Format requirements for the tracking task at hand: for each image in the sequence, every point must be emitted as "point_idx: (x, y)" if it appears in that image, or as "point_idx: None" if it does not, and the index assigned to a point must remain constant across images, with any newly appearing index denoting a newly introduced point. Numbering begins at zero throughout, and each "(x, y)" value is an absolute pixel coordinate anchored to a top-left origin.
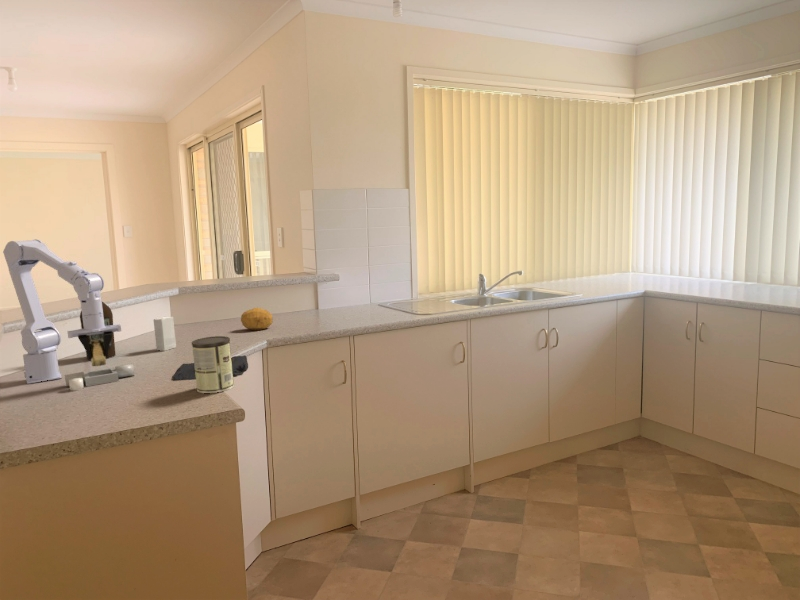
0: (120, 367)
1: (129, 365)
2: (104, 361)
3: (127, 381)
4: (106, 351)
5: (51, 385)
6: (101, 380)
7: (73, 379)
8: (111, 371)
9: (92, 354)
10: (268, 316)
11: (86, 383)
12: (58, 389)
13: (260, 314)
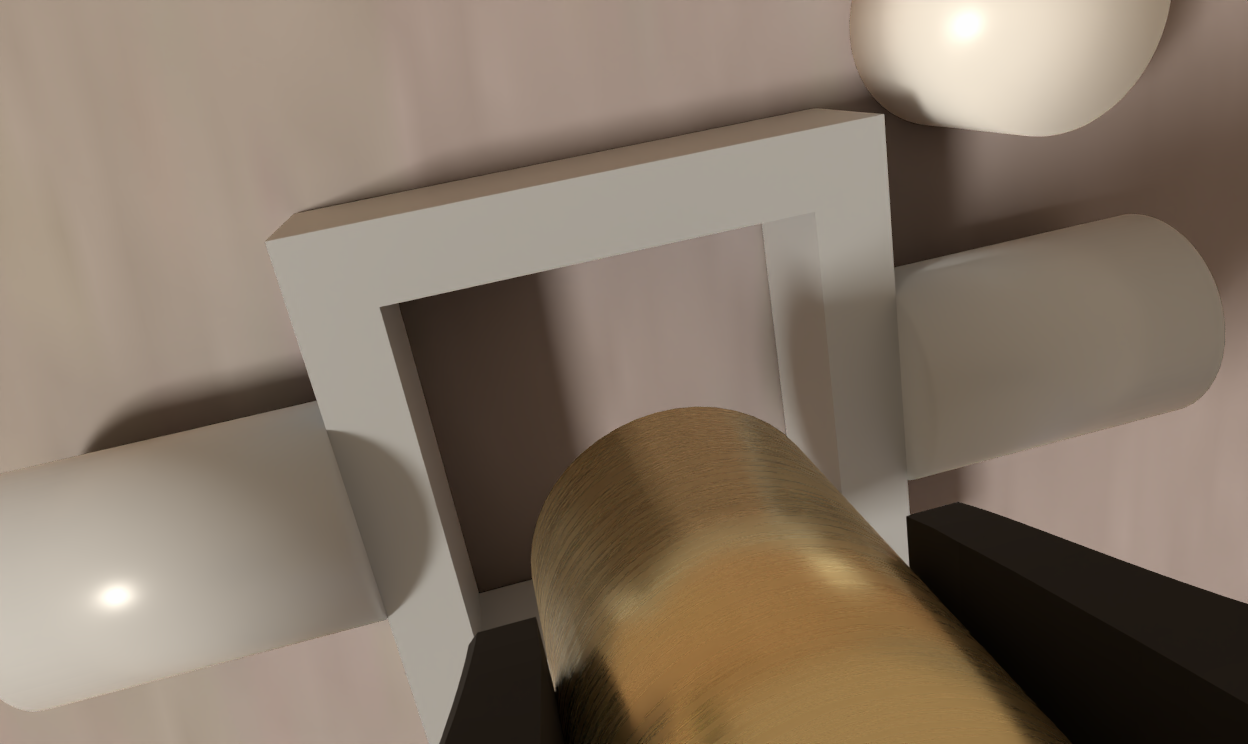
0: (236, 525)
1: (34, 592)
2: (563, 528)
3: (95, 80)
4: (500, 718)
5: (1216, 472)
6: (586, 160)
7: (1094, 35)
8: (442, 520)
9: (935, 596)
10: None
11: (829, 109)
12: (1171, 179)
13: None
